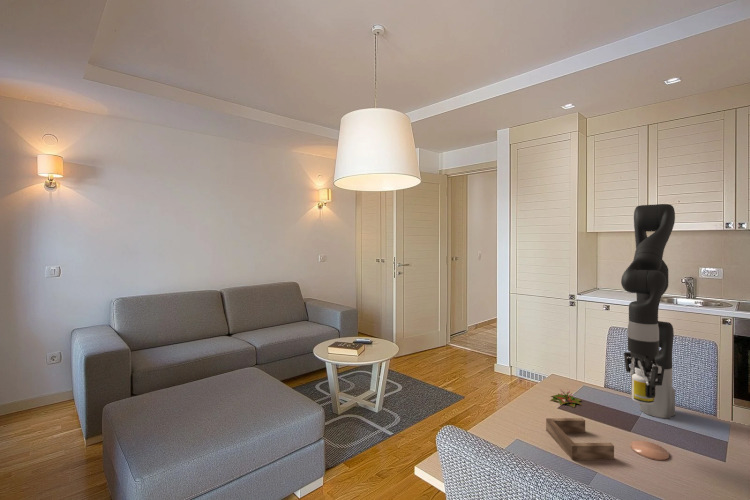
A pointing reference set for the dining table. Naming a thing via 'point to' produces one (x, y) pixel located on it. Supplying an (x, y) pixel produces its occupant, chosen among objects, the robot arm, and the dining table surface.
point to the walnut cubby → (577, 450)
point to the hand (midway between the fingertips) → (642, 392)
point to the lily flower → (566, 397)
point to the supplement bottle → (640, 388)
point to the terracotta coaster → (649, 450)
